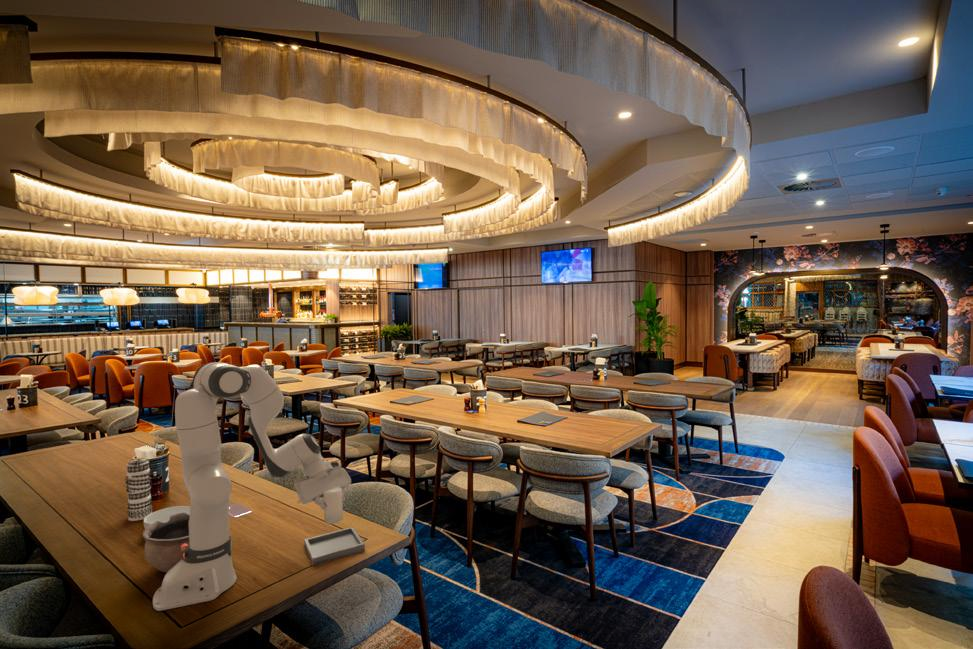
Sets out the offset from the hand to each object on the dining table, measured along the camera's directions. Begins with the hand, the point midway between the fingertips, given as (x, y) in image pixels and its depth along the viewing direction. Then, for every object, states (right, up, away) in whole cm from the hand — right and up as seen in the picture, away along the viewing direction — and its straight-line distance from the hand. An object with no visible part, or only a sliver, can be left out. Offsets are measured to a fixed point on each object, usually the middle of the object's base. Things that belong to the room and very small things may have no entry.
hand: (334, 504), depth 170 cm
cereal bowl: (-72, -18, +17) cm, 76 cm away
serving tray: (0, -17, +1) cm, 17 cm away
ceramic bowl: (-49, -18, -9) cm, 53 cm away
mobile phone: (-55, -17, +35) cm, 68 cm away
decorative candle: (-95, -18, +31) cm, 101 cm away
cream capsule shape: (0, -6, +1) cm, 6 cm away
